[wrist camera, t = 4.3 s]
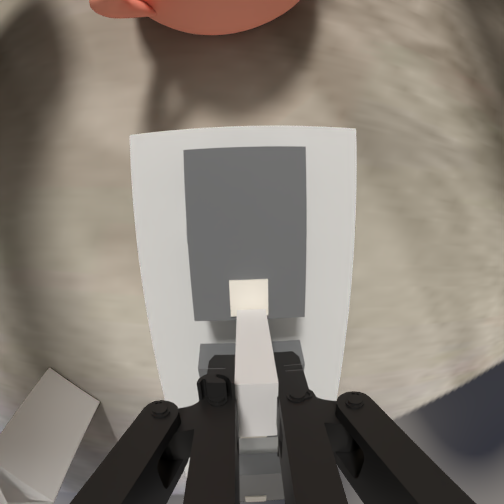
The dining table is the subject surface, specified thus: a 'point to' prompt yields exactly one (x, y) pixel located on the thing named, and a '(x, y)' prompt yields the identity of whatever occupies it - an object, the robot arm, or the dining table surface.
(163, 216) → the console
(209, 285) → the plate
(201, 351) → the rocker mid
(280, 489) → the rocker
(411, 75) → the dining table surface
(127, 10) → the teapot
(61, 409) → the milk carton
